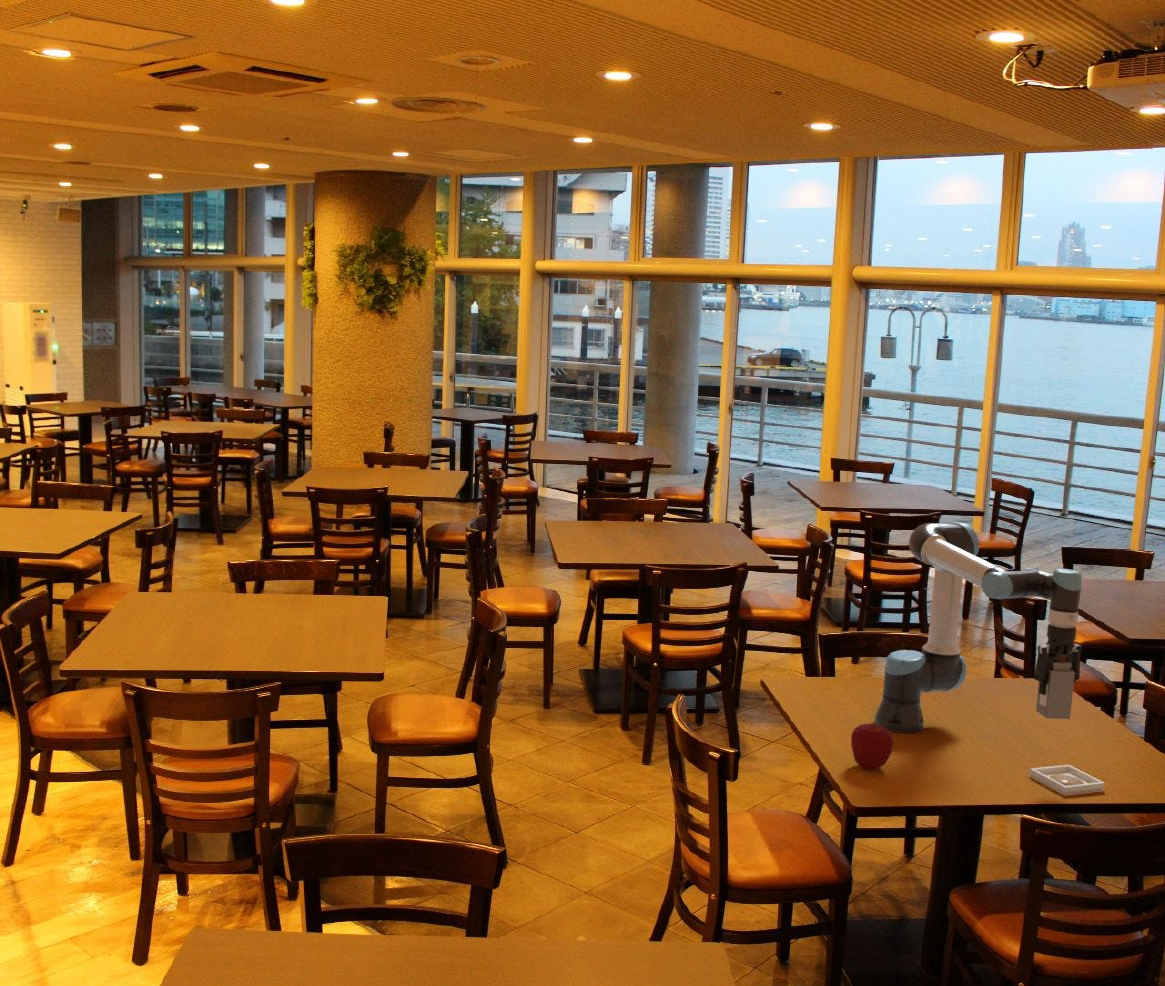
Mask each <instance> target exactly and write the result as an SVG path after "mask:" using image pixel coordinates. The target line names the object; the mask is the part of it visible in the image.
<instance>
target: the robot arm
mask: <svg viewBox="0 0 1165 986" xmlns="http://www.w3.org/2000/svg"><path fill="white" fill-rule="evenodd" d="M908 547H909V550H910V553H911V554H912V555H913V556H914V558H916V559H917V560H919V561H920V562H922V563H924V564H926V565H929V566H932V567H933V568H934V577H933V588H932V597H931V607H930V608H931V609H930V619H929V626H928V627H929V629H928V637H927V638H928V639H927V642H926V643H925V644H923V646H922V649H921V652H920V651H917V650H913V649H909V650H907V649H901V650H900V649H899V650H896V651H892V652H890V653H889V654H888V655H887V657H886V662H885V665H884V679H883V689H882V698H881V701H880V703H879V705H878V708H877V710H876V712H875V714H874V720H873V721H874V722H873V723H874V724H877V725H881V726H883V727H885V728H886V729H887V730H888V731H889V732H895V733H902V734H914V733H919V732H922V731H923V730H924V727H925V721H924V716H923V712H922V708H921V699H922V698H921V697H922V693H931V692H933V693H934V692H948V691H950V690H951V691H952V690H955V689H958V688H959V687H961V685H962V684H963V682H964V681H965V680H966V675H967V664H966V663H965V661H966V660H965V659H964V657H963V656H962V655H961V650H960V649H959V647H957V640H958V639H957V636H958V627H959V619H960V617H959V616H960V607H961V598H962V588H963V580H965V581H967V582H969V583H971V584H973V585H976V586H978V587H979V588H981V589H982V592H983V593H984V595H985V597H987V598H989V599H992V600H993V599H996V600H1004V599H1017V598H1018V599H1019V598H1020V599H1021V598H1041V599H1044V600H1048V601H1050V602H1049V612H1048V620H1047V621H1048V624H1047V630H1046V636H1047V642H1046V644H1045V645H1038V646H1037V653H1038V655H1037V658H1036V663H1035V670H1034V674H1033V676H1034V677H1033V679H1034V680H1035V681H1037V682H1038V683H1039V682H1040V687H1039V686H1038V687H1039V693H1040V703H1039V704H1040V705H1043V706H1045V707H1046V702H1047V692H1048V680H1049V671H1050V670H1053V663H1052V662H1057V661H1058V659H1059V657H1060V654H1068V655H1067V660H1066V661H1067V662H1068V661H1069V662H1071V663H1072V665H1071V668H1070V669H1071V670H1072V671H1074V672H1075V676H1074V684H1075V683H1076V682H1077V681H1079V679H1080V671H1081V653H1082V650H1083V646H1082V645H1079V644H1077V643H1075V640H1076V639H1077V638H1076V637H1077V627H1076V626H1077V625H1078V619H1079V618H1078V617H1079V608H1080V598H1081V591H1082V587H1083V586H1082V574H1081V572H1080V571H1077V570H1074V569H1069V568H1055V569H1054V571H1053V573H1052V572H1048V571H1045V570H1042V569H1040V568H1037V567H1036V568H1033V567H1025V568H1023V569H1022V570H1014V571H1013V570H1011V571H1010V570H1009V571H1008V570H1005V569H1003V568H1002V567H999V566H997V565H995V564H993V563H991V562H989V561H987V560H985V559H983V558H981V557H978V556H977V555H978V554H979V550H980V539H979V536H978V534H977V533H976V531H975V529H974V528H973V527H972V526H971V525H970V524H967V523H964V522H956V521H954V522H953V521H952V522H935V523H933V522H927V523H922V524H921V525H918V526H917V527H916V528H915V529H914V530H913V531H912V532H911V534H910V536H909V539H908ZM1051 656H1052V657H1051ZM1053 657H1054V658H1053ZM1044 678H1045V679H1044Z"/></svg>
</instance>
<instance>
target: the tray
mask: <svg viewBox="0 0 1165 986" xmlns="http://www.w3.org/2000/svg"><path fill="white" fill-rule="evenodd" d="M1029 778H1031V779H1032V780H1035V781H1036V782H1038V783H1041V784H1042V785H1043V786H1046V787H1048V788H1049V789H1051V790H1054V791H1055V792H1057V793H1058V794H1061V795H1063V796H1074V795H1081V794H1083V795H1084V794H1091V793H1093V794H1094V793H1101V792H1105V787H1106V783H1105V782H1103V781H1102V780H1099V779H1098V778H1096V777H1093V776H1092V775H1090V774H1088V773H1086V772H1084V771H1082V770H1079V769H1078V768H1076V767H1074V766H1073V765H1070V764H1063V765H1054V766H1053V765H1051V766H1042V767H1033V768H1030V769H1029Z"/></svg>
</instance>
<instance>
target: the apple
mask: <svg viewBox="0 0 1165 986" xmlns="http://www.w3.org/2000/svg"><path fill="white" fill-rule="evenodd" d="M892 735H893V734H892V732H891V731H889V730H887V729H886V728H885V727H883V726H881V725H877V724H875V723H874V722H873V723H861V724H859V725H858V726H856V727H855V728H854V729H853V731H852V733H851V735H850V736H851V740H850V741H851V745H850V746H851V750H852V754H853V759H854V762H855V763H856V764H857V765H858V766H859V767H860V768H861V769H862V770H865V771H875V770H878V769H880V768H882V767H883V766H885V765H886V764H887V762H888V760H889V758H890V756H891V755H892V753H893V752H892V751H893V747H894V739H893V736H892Z"/></svg>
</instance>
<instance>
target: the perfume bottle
mask: <svg viewBox="0 0 1165 986" xmlns="http://www.w3.org/2000/svg"><path fill="white" fill-rule="evenodd" d="M1067 655H1068V654H1060V657H1059V659H1058V661H1057V662H1052V663H1053V670H1050V671H1049V680H1048V692H1047V702H1046V707H1045V706H1043V705H1040V704H1039V703H1040V693H1039V687H1040V682H1039V681H1038V690H1037V697H1036V705H1035V706H1036V707H1035V711H1036V712H1037V713H1038V714H1040V715H1042V716H1043V717H1044V718H1046V719H1061V720H1062V719H1063V720H1064V719H1065V720H1070V719H1071V714H1072V713H1071V712H1072V702H1073V695H1074V694H1073V693H1074V685H1075V683H1074V676H1075V672H1074V671H1072V670H1071V669H1070V668H1071V665H1072V663H1071V662H1069V661H1068V662H1067V661H1066V660H1067ZM1051 657H1052V656H1051ZM1053 658H1054V657H1053ZM1044 679H1045V678H1044Z"/></svg>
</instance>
